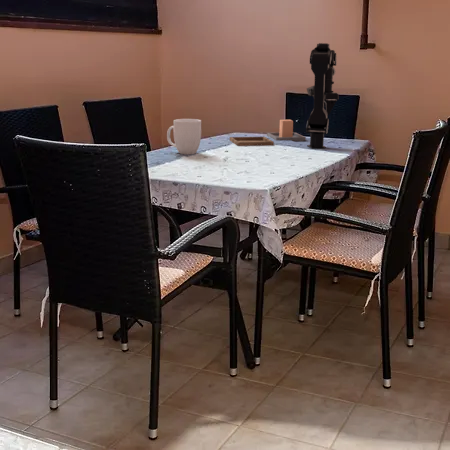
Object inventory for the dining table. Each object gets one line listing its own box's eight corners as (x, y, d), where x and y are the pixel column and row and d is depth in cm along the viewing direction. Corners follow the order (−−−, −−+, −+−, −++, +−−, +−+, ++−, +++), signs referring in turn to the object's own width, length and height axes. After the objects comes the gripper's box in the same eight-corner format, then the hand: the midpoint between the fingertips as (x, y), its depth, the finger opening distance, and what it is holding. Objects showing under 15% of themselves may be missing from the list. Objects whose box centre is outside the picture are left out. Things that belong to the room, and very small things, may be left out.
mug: (160, 153, 260) (159, 120, 257) (174, 149, 269) (174, 117, 266) (192, 156, 254) (192, 122, 250) (206, 152, 263) (206, 119, 259)
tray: (305, 141, 297) (305, 137, 297) (275, 141, 294) (276, 137, 294) (295, 136, 312) (295, 132, 312) (266, 136, 309) (266, 132, 309)
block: (292, 138, 301) (293, 120, 299) (282, 138, 300) (282, 120, 298) (289, 136, 306) (290, 119, 304) (279, 136, 305) (279, 119, 303)
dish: (273, 146, 280) (273, 141, 280) (237, 147, 277) (237, 142, 277) (264, 141, 295) (264, 136, 295) (229, 141, 292) (229, 137, 292)
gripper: (302, 77, 300) (301, 111, 305) (315, 80, 283) (314, 116, 287) (325, 77, 303) (323, 111, 307) (340, 80, 285) (338, 116, 289)
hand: (324, 114), depth 297 cm, fingers open, 9 cm apart
